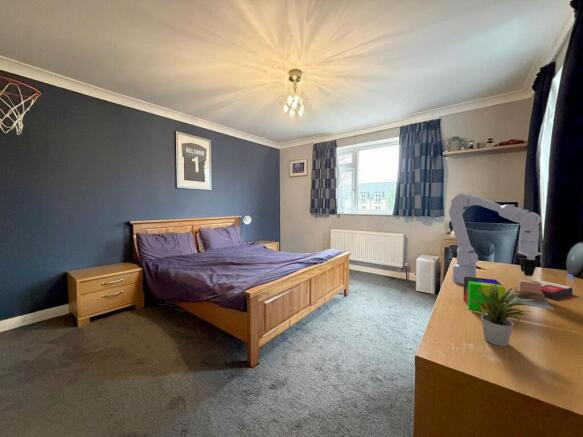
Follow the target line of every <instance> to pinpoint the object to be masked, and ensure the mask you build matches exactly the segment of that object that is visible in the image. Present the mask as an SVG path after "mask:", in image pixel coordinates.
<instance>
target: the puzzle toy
mask: <svg viewBox="0 0 583 437" xmlns="http://www.w3.org/2000/svg"><path fill="white" fill-rule="evenodd" d="M495 283H496V286H497V291H498V294H499V300H500V299H501V297H502V296H503V295H504V294H505V291H506V287H505V286H504V285H503V284H501V282H499V281H498V279H493V278H482V277H476V278H475V277H465V276H464V284H463V298H462V299H463V301H464V303H465V304H466V306H467V307H468V311H471V310H472V312H478V311H479V312H480V313H481V309H482V308H483V309H485V308H484V307H482V306H481V305H479V304H478V303H476V302H474V301H472V300H478V301H480V302H481V303H483V304H484V305H485V306H486V307H487V309H488V310H489V308H488V306H487V305H488V304H486V303H487V302H486V300H485V298H484V297H483V295H482V294H481V292H480V291H479V290H478V288H479V289H480V290H482V291H483V292H484V293H485V295H486V296H488V297H489V298H490V293H489V292H490V290H491V285H493V286H494V288H495ZM488 291H489V292H488ZM477 293H478V294H479V295H480V296H481V297H482V298H483V299H484V300H483V299H482V298H481V297H480V296H479V295H478V294H477ZM485 302H486V303H485ZM489 311H490V310H489ZM479 312H478V313H479Z"/></svg>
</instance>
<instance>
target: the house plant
mask: <svg viewBox="0 0 583 437" xmlns="http://www.w3.org/2000/svg"><path fill="white" fill-rule="evenodd" d="M478 290H479V291H480V292H481V294H482V295H483V297H484V298H485V300H486V302H487V303H486V302H485V303H486V304H488V305H487V306H488V308H489V310H490V311H489V310H488V309H487V307H486V306H485V305H484V304H483V303H481V302H480V301H478V300H472V301H474V302H476V303H478V304H479V305H481V306H482V307H484V308H485V309H483V308H482V309H481V312H480V319H481V325H482V331H483V338H484V340H485V341H486V340H487V341H488V342H487V341H486V342H487V343H489V342H490V343H489V344H491V343H492V344H491V345H494V344H495V345H494V346H497V345H499V346H498V347H508V346H509V342H510V339H511V335H512V332H513V328H514V325H515V323H514V322H513V321H512V320H510V319H508V318H510V317H513V319H515V320H517V322H520V318H519V317H518V316H526V315H527V313H530V311H527V310H521V309H519V308H512V307H514V306H528V304H520V303H521V302H525V301H522V300H532V299H521V300H515V299H514V298H515V296H516V295H517V294H519V293H520V292H517V293H514V294H512V295H510V296H509V297H508V295H509V293H510V292H512V290H513V287H511V288H509V289H508V290H506V291H507V292H506V293H505V294H504V295H503V296H502V297H501V299H500V300H499V294H498V291H497V286H496V283H495V288H494V286H493V285H491V290H490V292H489V291H488V292H489V293H490V298H489V297H488V296H486V295H485V293H484V292H483V291H482V290H480V289H479V288H478ZM477 294H478V293H477ZM478 295H479V294H478ZM479 296H480V295H479ZM480 297H481V296H480ZM507 297H508V298H507ZM481 298H482V297H481ZM482 299H483V298H482ZM483 300H484V299H483ZM512 300H515V301H514V302H517V303H514V302H512V303H511V301H512ZM518 301H520V302H518ZM527 303H529V302H527ZM529 307H534V305H529ZM512 311H513V312H512ZM526 312H527V313H526Z"/></svg>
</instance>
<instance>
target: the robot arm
mask: <svg viewBox="0 0 583 437" xmlns="http://www.w3.org/2000/svg"><path fill="white" fill-rule="evenodd" d="M472 206H481V207H483V208H486V209H488V210H491V211H494V212H497V213H498V215H499V216H500V217H502V218H504V219H507V220H509V221H512V222H515V223H518V224H519V225H520V228H519V229H520V230H519V238H518V250H517V254H516V257H517V258H518V260H519V266H520V270H521V272H523V273H524V276H525V277H533V275H534V273H535V270H536V267H537V266H538V265H539V264H540V262H541V261H540V260H539V259H536V256H542V255H543V253H542V252H539V240H540V239H539V238H540V231H539V230H540V226H539V224H540V223H541V221H542V218H541V216H540V215H539V214H538V213H536V212H533V211H532V212H530V210H528V209H522V208H520V207H517V206H516V205H515V204H508V203H507V204H503V205H502V204H499V203H497V202H494V201H492V200H489V199H487V198H484V197H481V196H477V195H472V194H469V193H468V194H466V193H458V194H456V195H455V196H454V197H453V198H452V199H451V204H450V207H449V210H448V215H449V218H450V222H451V225H452V230H453V234H454V236H455V240H456V245H457V249H456V254H457V255H456V262H457V263H458V264H457V263H454V264H453V270H452V275H451V277H452V283H453V284H461V285H464V276H465V277H475V278H477V264H476V263H477V262H479V255H478V254H477V252H476V251H475V248H474V247H473V246H472V245H471V241H470V238H469V234H468V231H467V227H466V224H465V221H464V220H465V219H464V216H463V214H464V213H465V211H467V210H468V209H469V208H470V207H472Z"/></svg>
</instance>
